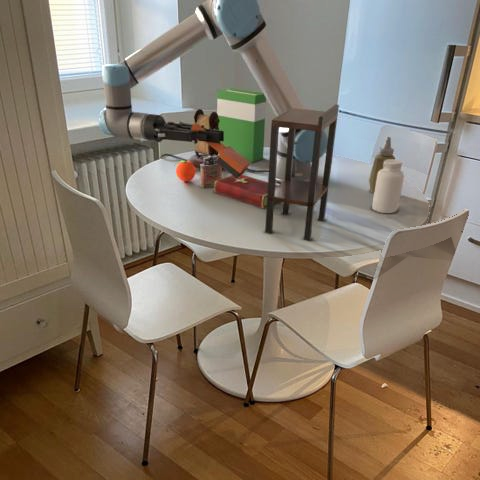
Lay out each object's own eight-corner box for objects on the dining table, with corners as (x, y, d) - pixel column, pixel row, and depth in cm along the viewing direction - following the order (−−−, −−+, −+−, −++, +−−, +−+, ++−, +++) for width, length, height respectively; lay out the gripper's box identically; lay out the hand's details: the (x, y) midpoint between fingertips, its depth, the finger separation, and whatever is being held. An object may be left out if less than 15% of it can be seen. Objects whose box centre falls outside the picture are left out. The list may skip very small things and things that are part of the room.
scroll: (179, 167, 194) (177, 110, 182) (203, 159, 204) (203, 104, 192) (210, 175, 187) (210, 116, 176) (234, 166, 197) (234, 110, 186)
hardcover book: (262, 208, 160) (263, 195, 158) (214, 192, 172) (214, 180, 169) (285, 199, 168) (286, 186, 166) (237, 184, 179) (238, 172, 177)
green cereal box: (217, 154, 210) (217, 90, 196) (228, 150, 215) (228, 87, 201) (252, 162, 202) (255, 95, 188) (263, 158, 207) (266, 93, 193)
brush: (184, 137, 145) (190, 125, 143) (193, 133, 150) (199, 121, 147) (236, 179, 146) (243, 168, 144) (244, 173, 150) (250, 162, 148)
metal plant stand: (265, 232, 145) (272, 111, 127) (283, 212, 158) (292, 100, 140) (309, 240, 141) (322, 116, 123) (324, 219, 154) (339, 104, 136)
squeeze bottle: (391, 196, 173) (402, 141, 162) (366, 194, 174) (376, 139, 163) (390, 189, 179) (400, 135, 169) (366, 187, 180) (376, 133, 170)
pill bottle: (368, 205, 166) (376, 157, 157) (392, 204, 166) (401, 157, 158) (375, 214, 159) (384, 165, 150) (400, 213, 160) (411, 165, 151)
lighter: (202, 188, 175) (202, 158, 169) (198, 185, 177) (198, 156, 171) (224, 185, 178) (224, 156, 172) (219, 182, 180) (219, 153, 175)
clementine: (170, 182, 180) (168, 161, 176) (179, 176, 185) (178, 156, 181) (190, 185, 177) (189, 164, 173) (199, 179, 183) (198, 159, 178)
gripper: (161, 135, 159) (231, 144, 152) (136, 146, 148) (210, 157, 141) (160, 109, 155) (232, 118, 148) (134, 118, 143) (210, 128, 136)
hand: (221, 137), depth 144 cm, fingers closed on brush, 2 cm apart
